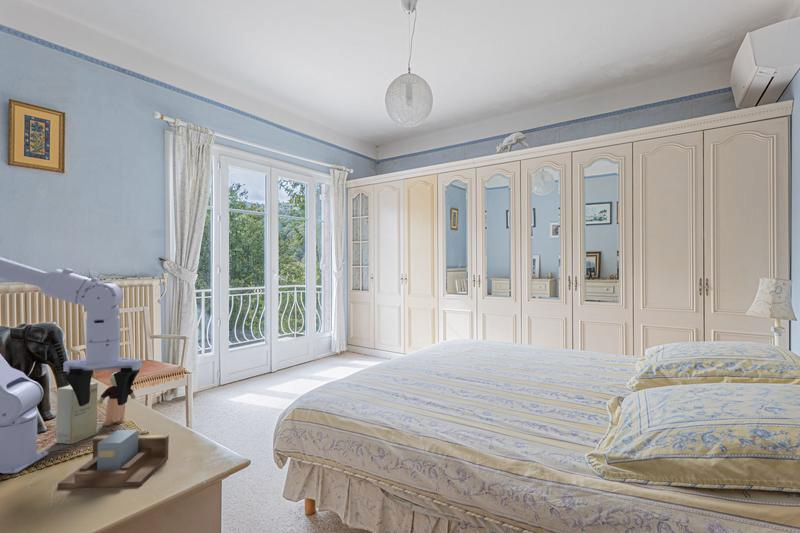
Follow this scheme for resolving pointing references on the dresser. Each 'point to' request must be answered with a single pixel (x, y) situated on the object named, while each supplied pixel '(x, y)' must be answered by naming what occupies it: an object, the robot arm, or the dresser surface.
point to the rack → (131, 473)
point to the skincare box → (75, 415)
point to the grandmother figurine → (114, 404)
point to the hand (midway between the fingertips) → (103, 404)
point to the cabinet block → (117, 449)
